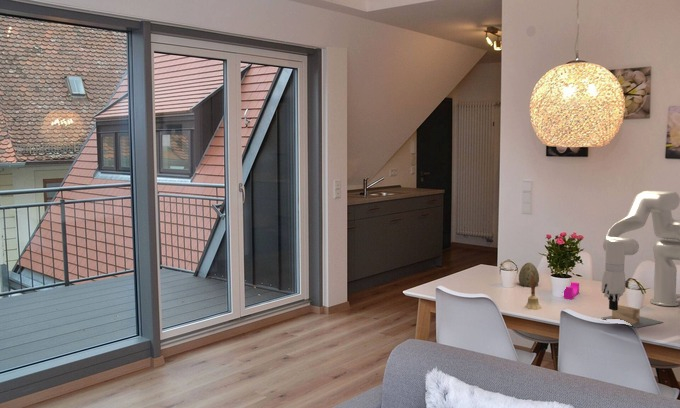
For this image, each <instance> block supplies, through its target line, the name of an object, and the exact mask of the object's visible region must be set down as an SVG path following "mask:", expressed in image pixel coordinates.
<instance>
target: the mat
mask: <svg viewBox="0 0 680 408" xmlns="http://www.w3.org/2000/svg"><path fill="white" fill-rule="evenodd" d="M602 318H603V319H602V320H604V319H612V315H610V316H603V317H602ZM663 323H664V321H661V320H658V319H657V320H656V319H652V318H649V317H645V316H641V315H640V319H639V323H636V324H631V325H632V326H633V327H632V328H634V329H639V328H644V327H645V328H646V327H649V326H654V325H658V324H659V325H660V324H663Z"/></svg>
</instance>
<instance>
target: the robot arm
mask: <svg viewBox="0 0 680 408" xmlns="http://www.w3.org/2000/svg"><path fill="white" fill-rule="evenodd" d="M679 206H680V195H679V193H678V192H676V191H670V190H643V191H641V192H640V193H637V194H636V195H635V196H634V197H633V200H632V202H631V204H630V206H629V208H628V211H627V213H626V215H625V217H623V218H622V219H620V220H619V221H616V222H615V223H614V224H613V225H611V226H610V228H609V229H608V230H607V232H606V235H605V237H604V239H603V242H602V243H603V244H602V248H603V250H604V251H605V261H604V262H605V266H604V267H605V268H604V271H603V274H602V280H601V293H603V294H604V295H603V296H604V298H607V300H608V309H609V310H611V311H612V310H614V311H615V310H618V305H619V301H620V297H622V296H623V295H624V293H625V291H626V274H625V273H626V272H625V257H626V256H634V255H636V254H637V253H638V251H639V248H640V245H639V242H638V241H637V240H636V239H635V238H631V237H620V236H622V235H623V234H625V233H629V232H631V231H635V230H636V231H637V230H639V229H641V228H643V227H644V226H645V225H646V222H647V220H648V218H649V215H650V214H651V219H652V220H651V221H652V226H653V232H654V235H655V237H657V238H659V239H657V240H655V241H654V243H653V246H652V250H653V251H652V252H653V258H654V276H653V277H654V278H653V279H654V281H653V282H654V286H653V298H651V299H650V301H649V303H651V304H653V305H658V306H663V307H677V306H679V305H680V302H679V301H678V300H677V299H680V293H679V294H677V275H678V274H677V272H678V270H677V269H678V268H677V266H676V264H675V262H674V261H680V219H674V218H673V215H672V211H674V210H676V209H677V208H678V207H679Z"/></svg>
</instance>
